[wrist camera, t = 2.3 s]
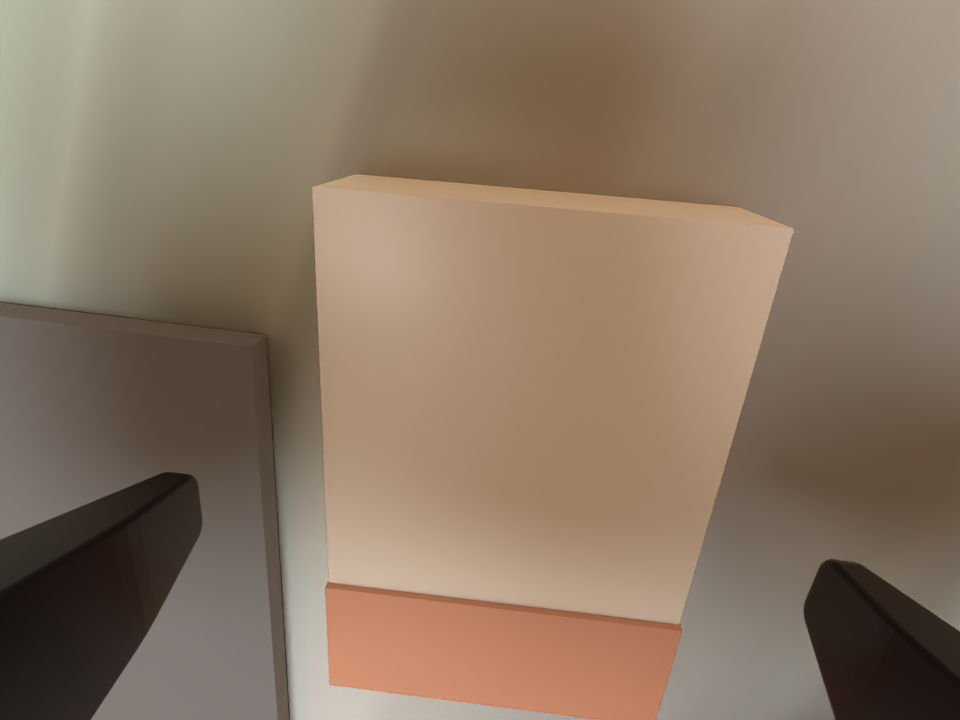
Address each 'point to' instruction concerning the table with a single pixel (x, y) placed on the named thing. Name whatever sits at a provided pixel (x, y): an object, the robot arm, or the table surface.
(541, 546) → the card deck
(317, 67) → the table surface
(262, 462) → the card mat
